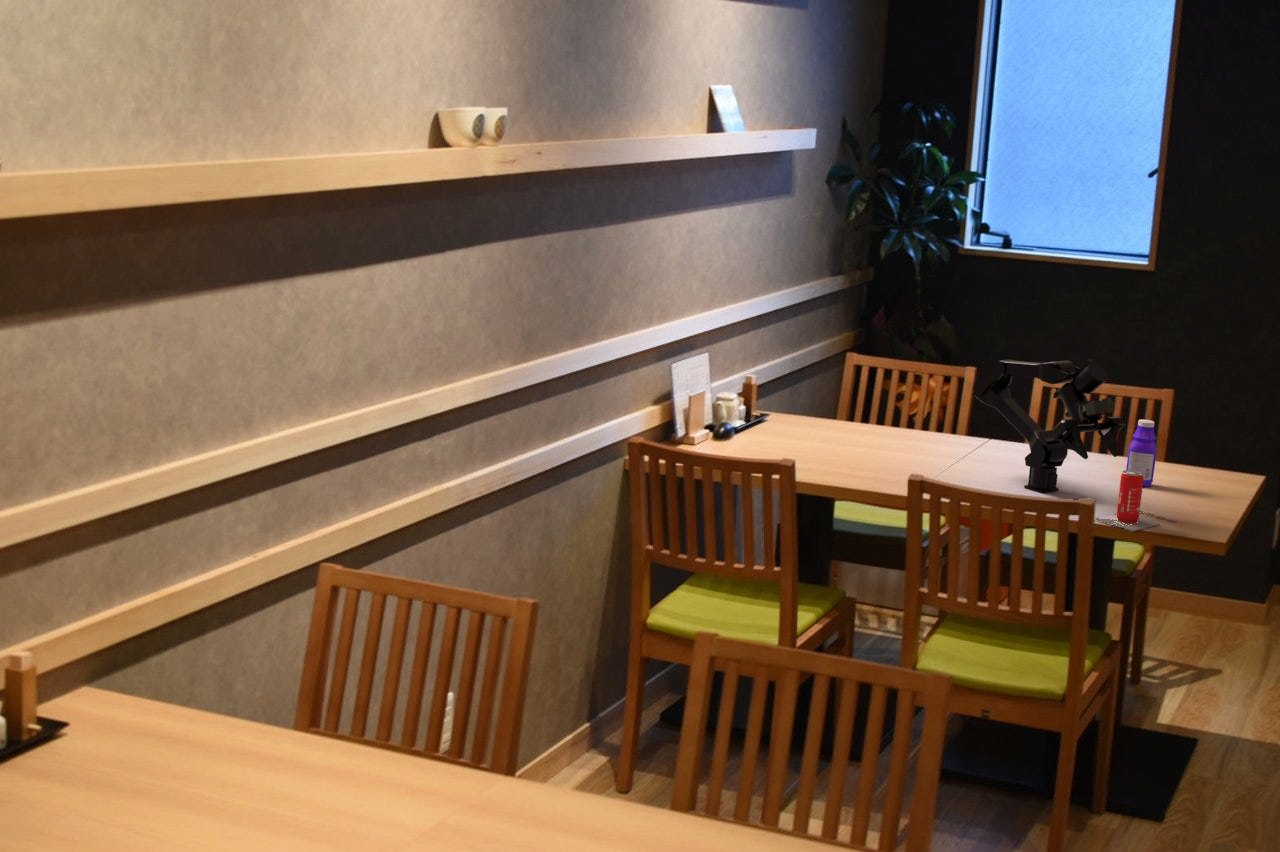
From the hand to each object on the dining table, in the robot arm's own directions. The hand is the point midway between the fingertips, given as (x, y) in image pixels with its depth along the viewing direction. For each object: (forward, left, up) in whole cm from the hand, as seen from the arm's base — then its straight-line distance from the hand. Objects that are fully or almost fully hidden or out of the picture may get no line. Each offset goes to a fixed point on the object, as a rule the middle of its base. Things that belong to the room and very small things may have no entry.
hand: (1101, 457), depth 377 cm
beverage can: (+11, -3, -13) cm, 18 cm away
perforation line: (+10, +8, -13) cm, 19 cm away
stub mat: (+11, -3, -13) cm, 18 cm away
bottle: (-10, +32, -14) cm, 36 cm away
